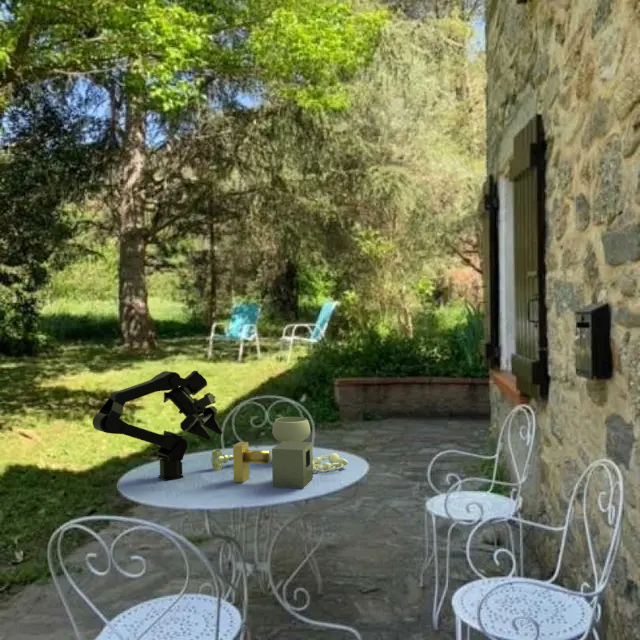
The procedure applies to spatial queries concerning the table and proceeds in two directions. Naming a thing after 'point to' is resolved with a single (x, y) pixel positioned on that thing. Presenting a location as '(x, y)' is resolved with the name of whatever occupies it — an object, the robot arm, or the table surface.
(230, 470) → the table surface
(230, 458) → the valve
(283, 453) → the housing
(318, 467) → the tangled rod sculpture
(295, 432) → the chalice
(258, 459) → the end cover
